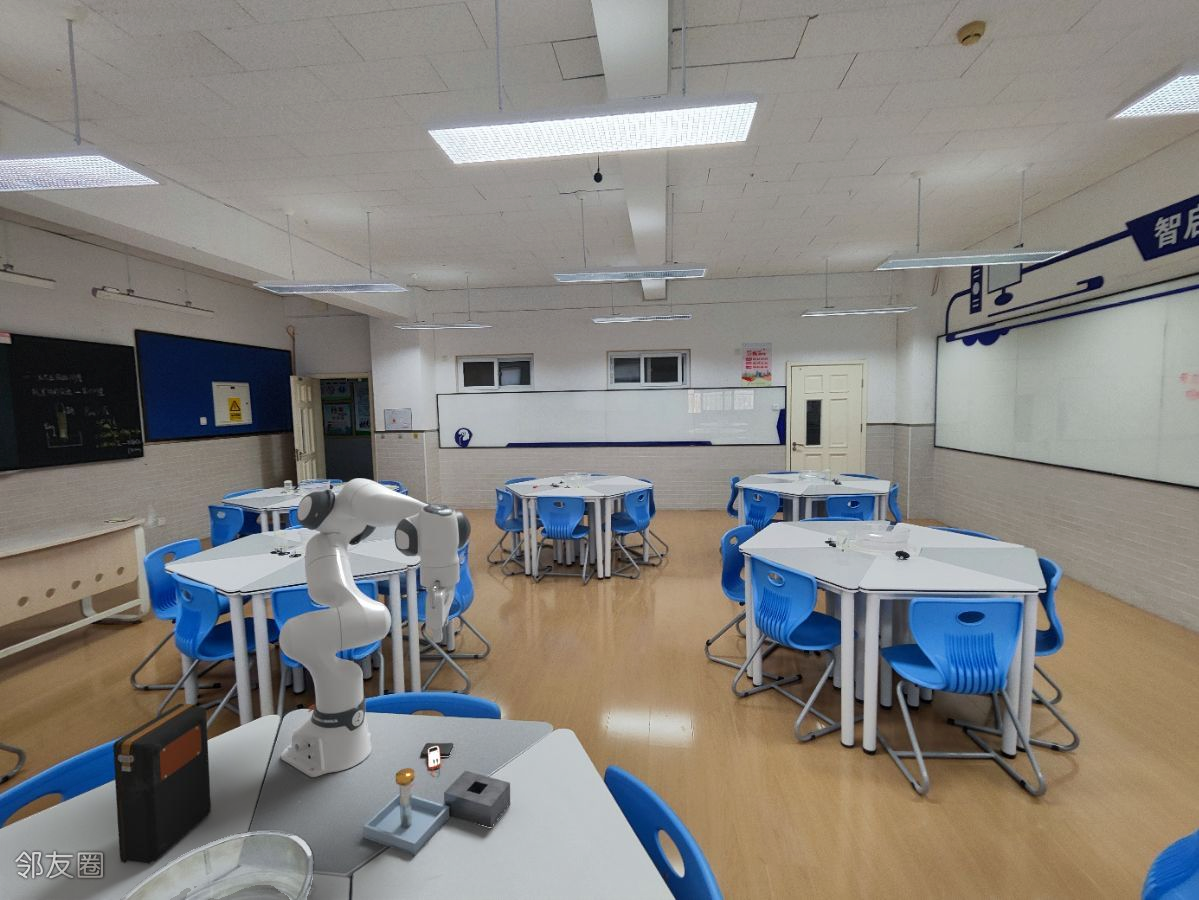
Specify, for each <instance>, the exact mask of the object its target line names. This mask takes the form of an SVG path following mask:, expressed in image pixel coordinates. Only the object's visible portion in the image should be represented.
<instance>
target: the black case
mask: <svg viewBox="0 0 1199 900" xmlns="http://www.w3.org/2000/svg"><path fill="white" fill-rule="evenodd" d="M207 720H208V719H207V709H206V707H204V706H197V705H196V704H195V703H185V704H184V703H177V705H175V706H173V707H171V708H170V709H167V710H166V711H165V712H163V713H162V714H159V715H158V716H157V717H155V718H152V720H149V721H148V722H146V723H145V724H143V725H141V726H140V727H138V728H136V729H134V730H133V731H131V732H129V733H128V734H126V735H124V736H123V737H121V738H119V739H117V740H116V741H115V742H114V743H113V745H112V747H113V762H114V764H113V765H114V782H115V796H116V800H115V801H116V813H117V814H116V815H117V831H118V847H119V848H118V849H119V860H120V862H121V863H127V862H135V863H146V864H152V863H154V862H156V861H157V860H158V859H159V858H160V857H162V856H164V854H166V852H167V851H169V849H171V848H172V847H173V846H174V845H176V844H177V843H178V842H179V841H180V840H181V839H182V838H184V837H185V836H186V835H187V834H188V833H189V832H190V831H192V830H193V829H194V828H195V827H196V826H197V825H199V824H200V823H201V822H202V821H203V820H204V819H205V818H207V817H208V816H209V815H210V814H211V813H212V812H211V811H212V804H211V802H212V801H211V787H210V786H211V784H210V782H211V781H210V764H209V762H210V761H209V760H210V759H209V746H208V745H209V743H208V741H209V740H208V739H209V738H208V721H207Z"/></svg>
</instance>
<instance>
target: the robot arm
mask: <svg viewBox="0 0 1199 900" xmlns="http://www.w3.org/2000/svg"><path fill="white" fill-rule="evenodd" d="M296 519H297V522H298V524H299V525H300V526H302V527H303V528H306V529H308V530H311V531H314V530H315V531H317V532H319V533H316V534H314V535H313V536H312V537H311V538H309V540H308V541H307V543H306V547H305V555H304V569H305V578H306V585H307V587H306V588H307V593H308V595H309V597H310V599H311V600H313V602H314V603H316V604H318V605H320V606H324V607H327V608H324V609H319V610H314V611H308V612H305V613H302V614H300V615H296V616H293V617H291V618H288V619H287V621H285V623H284V624H283V625H282V627H281V629H280V632H279V636H278V637H279V638H278V641H279V642H278V643H279V647H280V649H281V651H282V653H284V655H285V656H286V657H288V658H289V659H291V660H294V661H295V662H298V663H300V664H301V665H302V666H304V667H305V668H306V669H307V671H309V673H310V675H311V677H312V681H313V684H314V685H313V686H314V693H315V704H312V705H311V706H309V707H308V708H307V709H309V710H307V711H308V713H310V712H312V714H311V717H309V718H308V719H307V720H306V721H304V722H303V723H302V724H300V725H299V726H298V727H297V728H296V729H295V730H294V732H293V734H292V737H291V743H290V744H289V745H288V746H287V747H286V748H285V749H284V750H283V751H282V753H281V755H280V758H281V760H283V761H284V762H286V763H287V764H289V765H291V766H292V767H293V768H296V769H297V770H299V771H301V772H302V773H303V774H305V775H306V776H308V777H311V778H316V777H319V776H322V775H325V774H329V773H333V772H334V773H336V772H341V771H344V770H348V769H351V768H352V767H353V768H354V767H355V766H356V765H358V764H360V763H362V762H364V760H365V759H367V757H368V756H369V755H370V754H371V752H372V750H373V749H372V748H373V747H372V743H371V739H372V734H371V732H370V731H369V726H368V719H367V713H366V711H367V709H366V707H367V705H366V704H367V701H366V696H365V695H364V680H363V679H364V675H363V673H364V671H363V670H362V667H360V665H359V664H358V663H356V662H355V661H351V660H349V659H348V660H347V659H343V658H341V657H338V656H336V654H337V653H339V652H341V651H346V650H351V649H357V648H361V647H366V646H369V645H371V644H374V643H376V642H378V641H380V640H382V639H385V638H386V637H387V635H388V633H389V631H390V629H391V626H392V616H391V612H390V610H389V609H388V607H387V606H386V605H385V604H384V603H382V602H380V601H378V600H374V599H373V598H371V597H369V596H367V594H365V593H363V592H362V591H361V590H360V589H359V588H358V586H357V584H356V582H355V581H354V579H355V578H354V577H353V573H352V569H351V568H352V567H351V563H350V559H349V555H348V545H351V546H355V545H358V544H360V543H361V541H363V540H365V539H367V538H368V537H369V536H370V535H371V534H373V533H374V531H375V530H376V528H385V527H387V528H388V527H393V526H396V527H395V531H394V543H395V547H396V549H397V550H398V551H399V552H400V553H401V554H403V555H404V556H406V557H419V559H420V562H419V578H420V579H419V582H420V583H419V584H420V585H421V586H422V587H423V588H424V587H425V591H426V592H427V594H426V597H425V628H426V629H427V630H431V632H432V636H433V643H436V644H437V643H442V642H443V641H442V640H443V628H444V627H447V626H448V624H449V613H450V609H451V608H452V607H451V606H452V604H453V601H454V598H455V592H456V591H455V590H456V585H457V584H458V583H459V582H460V579H461V578H460V575H461V574H460V558H459V554H458V553H459V552H458V550H459V549H460V550H461V549H462V548H463V547H464V546H465V545H466V544H467V542H468V540H469V538H470V535H471V531H472V528H471V523H470V520H469V518H468V517H467V516H466V515H465V514H464V513H463V512H462V511H460V510H459V509H454V508H453V507H451V506H449V505H448V504H440V503H438V504H437V503H435V504H431V503H430V502H427V501H425V500H421V499H419V498H415V497H413V496H409V495H407V494H403V493H400V492H397V491H395V490H393V489H391V488H388V487H386V486H384V485H383V484H380V483H379V482H376V481H374V480H372V479H368V478H357V477H356V478H353V479H350V480H349V481H348V482H346V484H344V485H343V487H342V489H341V491H339V492H333V491H332V490H331V489H325V490H323V491H322V490H321V491H313V492H310V493H308V494H306V495H305V496H303V497H302V498H301V500H300V502H299V503H298V506H297V511H296Z"/></svg>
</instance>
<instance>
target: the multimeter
mask: <svg viewBox="0 0 1199 900" xmlns="http://www.w3.org/2000/svg"><path fill="white" fill-rule="evenodd" d="M453 745H454V743H452V742H447V743H446V742H444V743H443V742H439V743H437V742H427V743H425V744H424V747H423V748H422V750H421V752H420V758H421V757H428V758H427V760H428V762H427V763H428V764H427V765H428V766H427V767H428V770H431V769H432V770H431V772H433V770H436V768H437V769H438V770H439V774H437V776H435V775H434V774H433V773H431V775H432V776H433V777H436V778H438V777H439V776H440V774H441V769H440V768H441V767H442V762H441V761H442V760H441V757H440V756H449V755H450V756H451V754H450V752H451V750H452V748H453V749H454V747H453ZM452 751H453V750H452ZM451 753H452V752H451ZM450 756H449V757H450ZM440 766H441V767H440ZM414 785H415V782H413V783H411V788H412V787H413V786H414Z"/></svg>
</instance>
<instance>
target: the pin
mask: <svg viewBox="0 0 1199 900" xmlns="http://www.w3.org/2000/svg"><path fill="white" fill-rule="evenodd" d="M414 780H415V770H414V769H413V768H410V767H409V768H408V767H405V768H402V769H400V770H399V771H397V772H396V773H395V783H396V785H398V786H399V787H398V789H399V793H400V820H401V828H409V827H410V826H411V825H412V823H413V821H412V795H413V793H412V791H413V790H412V788H411V786H412V782H413V781H414Z"/></svg>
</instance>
